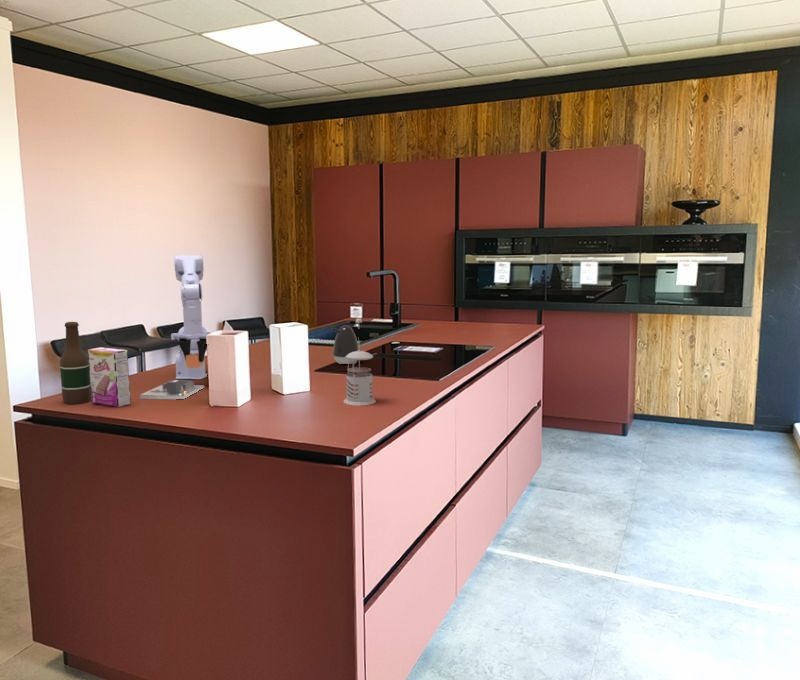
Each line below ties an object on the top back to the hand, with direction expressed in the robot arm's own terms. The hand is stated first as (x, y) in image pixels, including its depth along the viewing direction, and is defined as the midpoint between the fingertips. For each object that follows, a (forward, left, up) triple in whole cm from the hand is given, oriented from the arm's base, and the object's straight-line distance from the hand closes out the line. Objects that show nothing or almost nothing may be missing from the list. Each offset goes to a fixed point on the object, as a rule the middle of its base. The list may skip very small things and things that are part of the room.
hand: (194, 361), depth 215 cm
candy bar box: (-15, -26, -9) cm, 31 cm away
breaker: (-1, -14, -7) cm, 15 cm away
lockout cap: (0, 0, -2) cm, 2 cm away
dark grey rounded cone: (+41, +46, -9) cm, 63 cm away
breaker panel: (-3, -11, -8) cm, 14 cm away
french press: (+57, -14, -9) cm, 59 cm away
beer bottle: (-27, -24, -9) cm, 37 cm away
